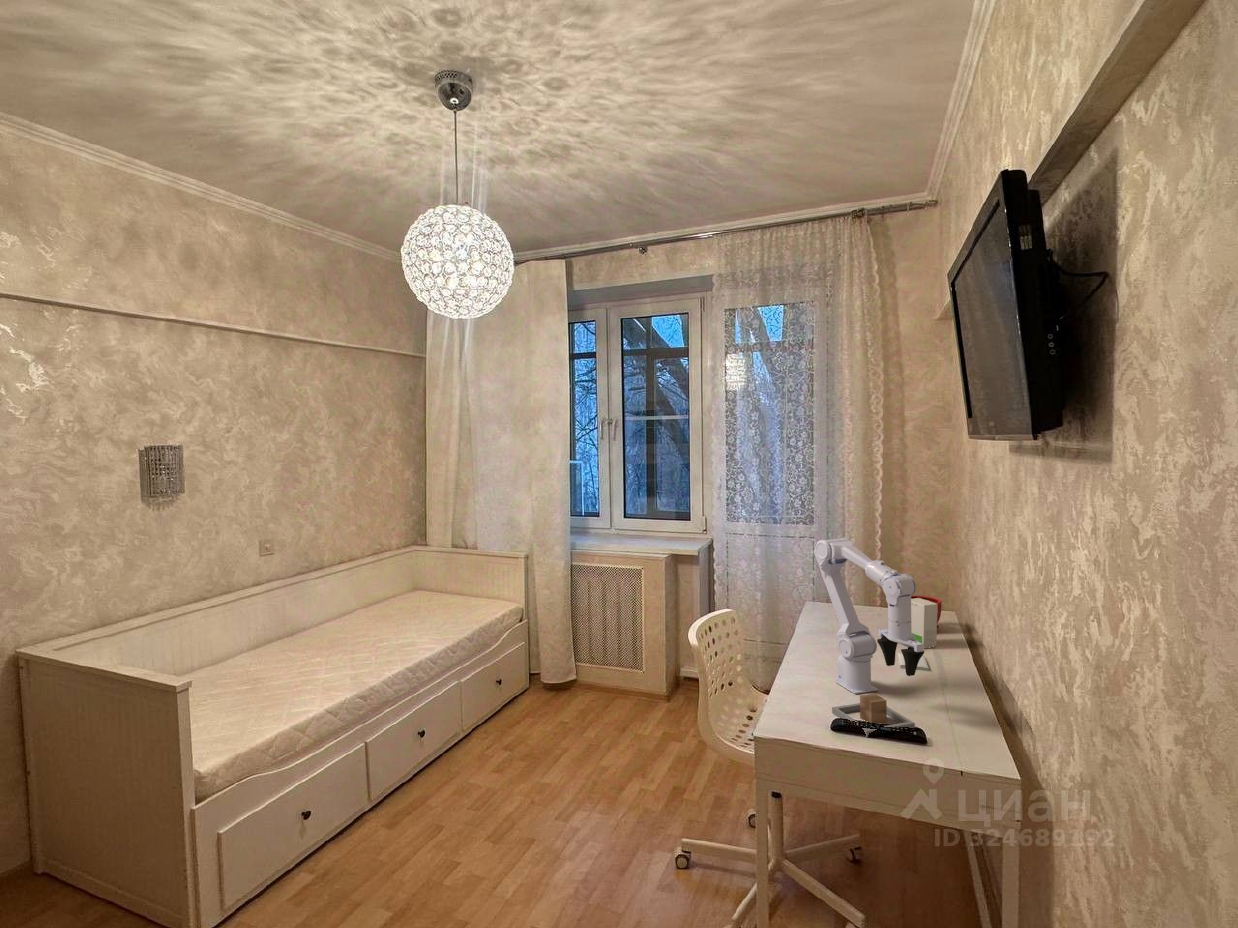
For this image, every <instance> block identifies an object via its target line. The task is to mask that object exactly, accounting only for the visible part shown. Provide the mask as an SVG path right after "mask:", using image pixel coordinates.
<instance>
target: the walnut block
mask: <svg viewBox="0 0 1238 928" xmlns="http://www.w3.org/2000/svg"><path fill="white" fill-rule="evenodd" d="M859 703H860V711H859V718H860V719H861V720H862V721H864V720H865V721H868V722H871V723H886V724H887V723H888V722H887V721H888V720H887V718H888V717H887V716H888V715H887V707H888V705H887V699H885V698H883V697H881V696H880V695H879V694H876V693H875V692H873V693H868V694H862V695H861V694H860V695H859ZM865 721H864V722H865Z"/></svg>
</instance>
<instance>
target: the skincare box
mask: <svg viewBox="0 0 1238 928" xmlns="http://www.w3.org/2000/svg"><path fill="white" fill-rule="evenodd" d="M937 608H938V604H936V603H933V602H930V601H928V600H924V599H921V598H915V599H911V627H912V635H914V639H915V640H917V641H918V642H919V643H921V644H923V650H925V649H924V648H927V649H930V648H929V647H933V646H936V647H937V635H938V632H937V631H938V630H937V625H938V623H937V612H938V611H937ZM933 648H934V647H933Z"/></svg>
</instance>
